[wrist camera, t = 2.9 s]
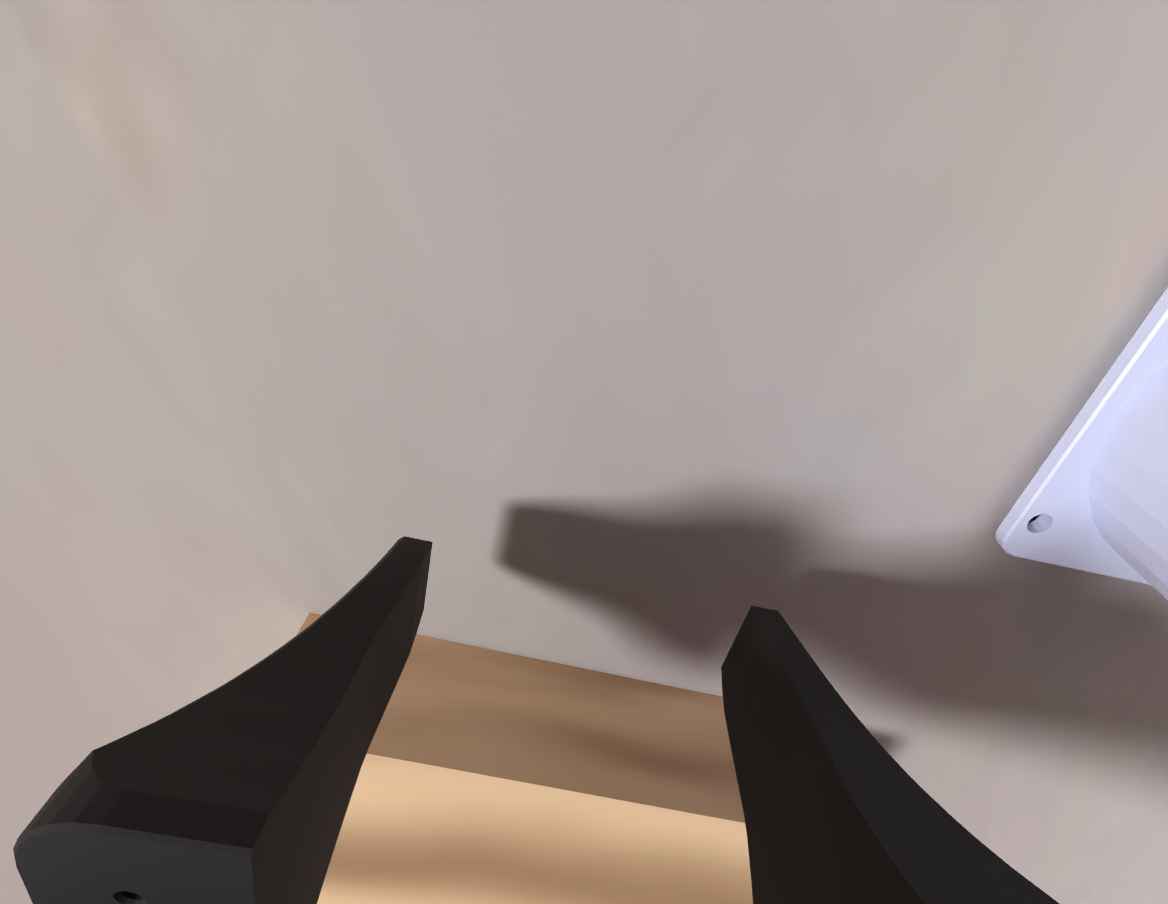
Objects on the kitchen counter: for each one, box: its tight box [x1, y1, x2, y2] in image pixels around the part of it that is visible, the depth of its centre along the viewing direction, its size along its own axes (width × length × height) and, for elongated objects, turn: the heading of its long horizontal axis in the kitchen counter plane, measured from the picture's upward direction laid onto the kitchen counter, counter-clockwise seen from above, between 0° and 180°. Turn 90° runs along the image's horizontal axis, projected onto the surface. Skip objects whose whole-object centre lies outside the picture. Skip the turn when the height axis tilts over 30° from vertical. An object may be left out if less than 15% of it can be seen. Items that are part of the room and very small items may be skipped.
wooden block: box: [297, 613, 753, 904], centre depth 18 cm, size 8×14×4 cm, turn 76°
